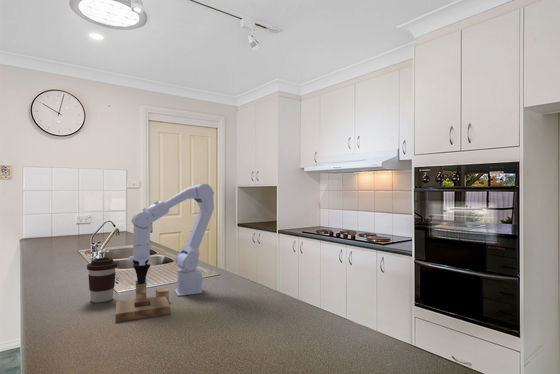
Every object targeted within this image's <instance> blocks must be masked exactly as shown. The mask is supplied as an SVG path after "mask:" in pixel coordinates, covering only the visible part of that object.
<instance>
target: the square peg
mask: <svg viewBox="0 0 560 374" xmlns="http://www.w3.org/2000/svg"><path fill="white" fill-rule="evenodd" d="M143 298H147V279H146V280H145V284H138V281H137V280H135V299H143Z"/></svg>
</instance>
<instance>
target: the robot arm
mask: <svg viewBox="0 0 560 374" xmlns="http://www.w3.org/2000/svg"><path fill="white" fill-rule="evenodd" d="M214 194H215V191H214V190H213V188H212V186H211V185H209V184H208V183H201V184H199V183H195V184H193V185H191V186H188V187H186V188H185V189H183V190H181V191H180V192H178V193H177V194H175V195H173V196H172V197H169V199H167V200H165V201H164V200H159V201H158V200H155V201H154V202H153V204H152V205H150V206H148V207H143V208H142V211H138V212H136V213H134V215H133V216H132V218H131V223H132V225H133V233H132V234H133V235H132V255H131V256H129V257H128V259H129V260H132V263H133V264H132V265H133V269H134V270H135V274H136V279H137V280H136V281H138V284H145V280H146V281H147V274H148V271H149V269H150V267H151V264H150V263H148V262H149V259H151V255H150V253H151V251H150V248H151V244H150V243H151V242H150V241H151V231H150V229H151V225H152V224H153V222H155V221H157V220H159V219H161V218H162V217H164V216H167V214H169V212H170V209H171V208H173V207H176V206H177V205H179V204H181V203H182V202H184V201H186V200H188V199H193V200H194V201H195V202H196V203H197V205H198V206H199V211H198V213H197V215H196V217H195V220H194V223H193V225H192V228H191V231H190V233H189V235H188V239H187V240H186V243H185V245H184V246H183V247H181V250H180V251H179V252H178V254H176V257H175V263H176V266H177V271H176V272H177V274H176V275H177V278H176V286H177V287H176V288H174V291H175V294H176V296H177V297H180V296H188V295H195V294H202V293H203V275H202V274H203V272H202V269H201V268H198V266H199V258H200V257H199V256H200V250H199V248H200V245H201V243H202V241H203V238H204V235H205V233H206V230H207V227H208V225H209V222H210V220H211V217H212V215H213V212H214V210H215V202H214V196H215V195H214Z"/></svg>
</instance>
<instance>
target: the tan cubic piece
mask: <svg viewBox="0 0 560 374" xmlns="http://www.w3.org/2000/svg"><path fill="white" fill-rule="evenodd" d="M169 292H170V291H169V289H167V288H166V287H165V288H159V289H155V297H159V296H166V298H167V300H168V303H169V299H170V297H169Z"/></svg>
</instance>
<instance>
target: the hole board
mask: <svg viewBox="0 0 560 374" xmlns="http://www.w3.org/2000/svg"><path fill="white" fill-rule="evenodd" d="M115 305H116V306H115V323H117V322H126V321H131V320H139V319H145V318H152V317H158V316H165V315H170V314H171V305H170V304H169V302H168V300H167V298H166V296H159V297H156V296H153V297H146V298H143V299H136V298H135V299H129V300H127V299H126V300H122V301H116V303H115Z"/></svg>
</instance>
